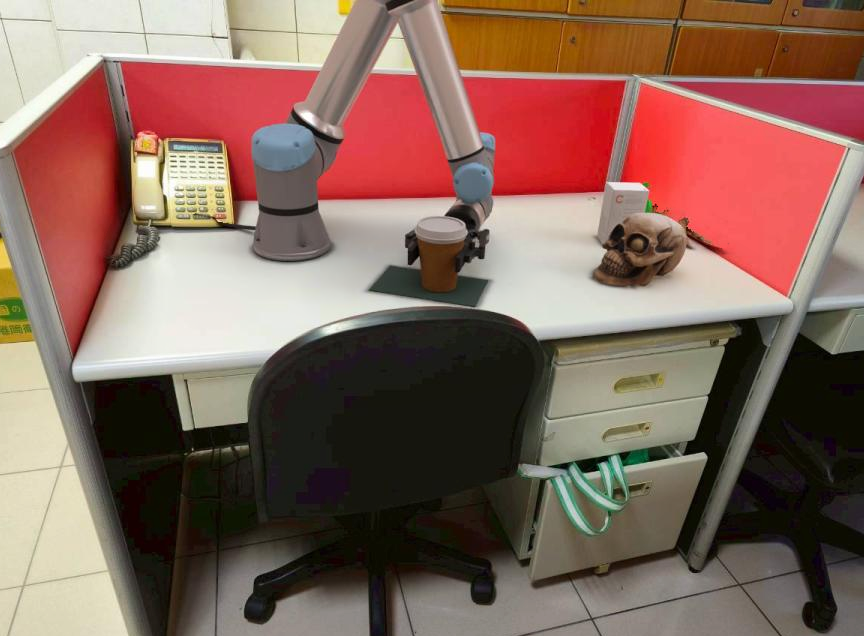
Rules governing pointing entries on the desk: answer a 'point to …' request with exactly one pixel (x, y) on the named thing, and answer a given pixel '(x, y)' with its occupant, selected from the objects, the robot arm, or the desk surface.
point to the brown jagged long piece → (692, 233)
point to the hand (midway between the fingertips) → (433, 261)
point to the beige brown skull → (641, 250)
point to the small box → (620, 205)
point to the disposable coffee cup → (439, 251)
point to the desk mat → (411, 286)
